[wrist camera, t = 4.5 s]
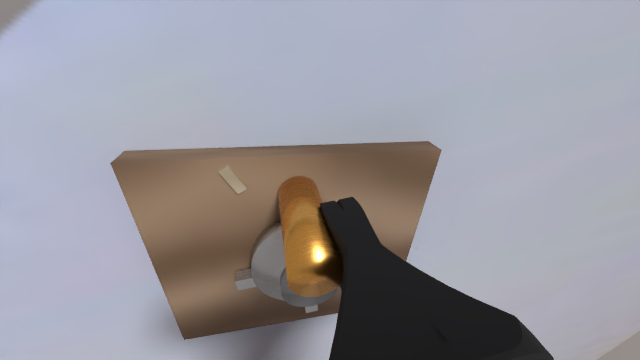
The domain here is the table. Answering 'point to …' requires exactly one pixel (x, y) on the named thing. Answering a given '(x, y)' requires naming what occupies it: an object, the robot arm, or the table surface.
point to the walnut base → (257, 217)
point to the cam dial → (295, 251)
